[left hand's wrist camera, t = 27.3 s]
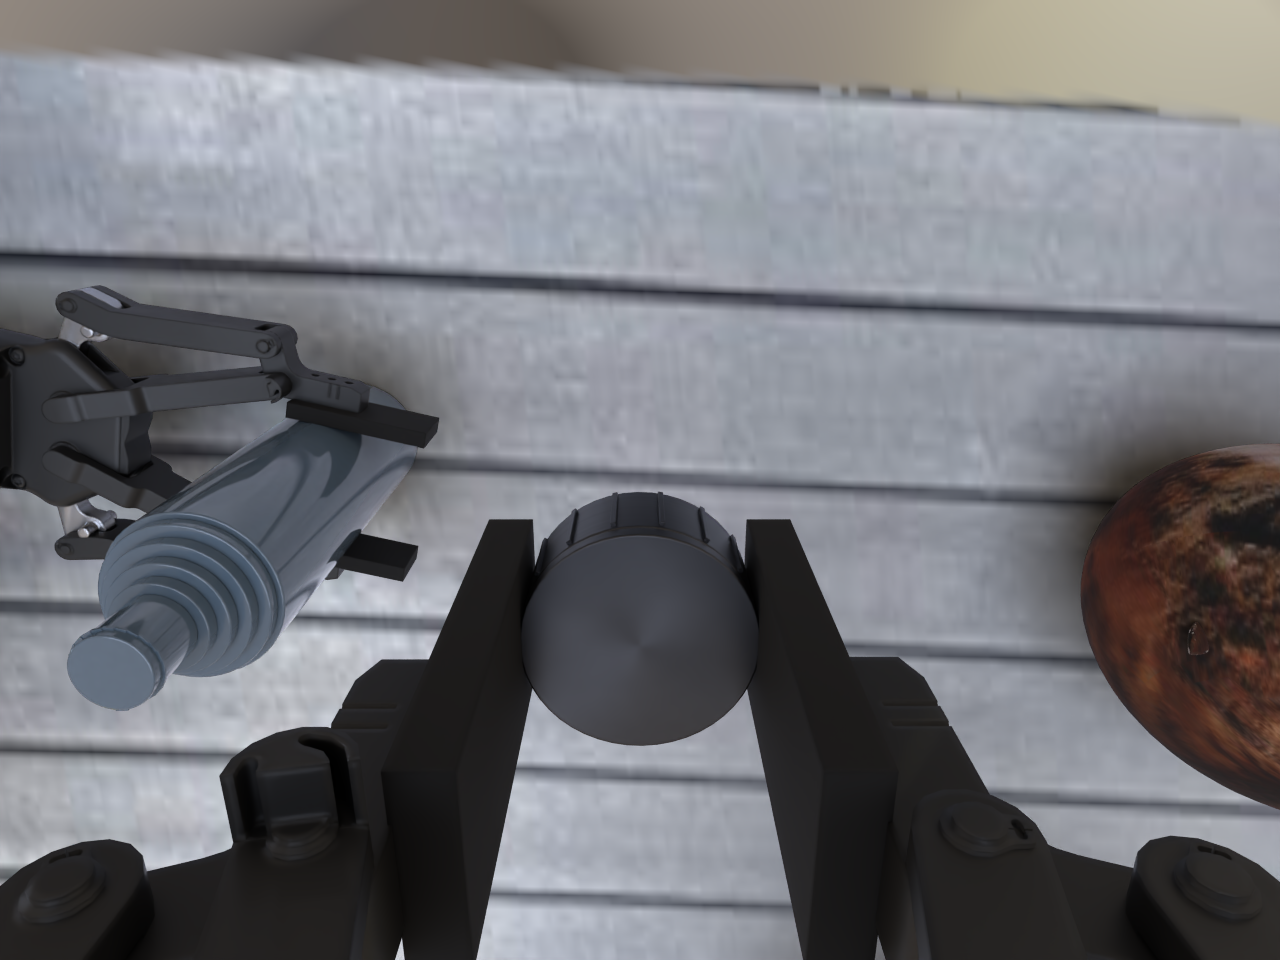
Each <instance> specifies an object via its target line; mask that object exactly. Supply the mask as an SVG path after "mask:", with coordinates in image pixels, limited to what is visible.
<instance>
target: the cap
mask: <svg viewBox="0 0 1280 960" xmlns="http://www.w3.org/2000/svg"><path fill="white" fill-rule="evenodd" d="M758 636H759V618H758V614H757V610H756V606H755V602H754V599H753V595H752V591H751V587H750V584H749V580H748V576H747V572H746V569H745V565H744V562H743V560H742V557H741V554H740V552H739V550H738V547H737V543H736V539H735V537H734V536H733V535H731V536H730V535H729V534H728V532H727V531H726V530H725V529H724V528H723V527H722V526H721V525H720V524H719V523H718V522H717V521H716V520H715V519H714V518H712V517H711V516H710V515H709V514H707V513H706V512H705V509H704V508H703V507H701V506H700V508H698V507H696V506H695V505H693V504H690V503H688V502H686V501H684V500H681V499H678V498H675V497H671V496H668V495H663V492H658V494H657V493H646V492H633V493H622V494H618V493H617V492H616V493H613V495H612V496H608V497H605V498H602V499H599V500H596V501H594V502H592V503H590V504H588V505H585V506H583V507H582V508H580V509H579V510H577V509H574V510H573V511H572V513H571V515H570V516H568V517H567V518H566V519H565V520H564V521H563V522H562V523H560V524H559V526H558V527H557V528H556V529H555V530H554V531H553V532H552V533H551V535H550V536H549V538H548V539H546V538H544V540H543V541H542V545H541V549H540V553H539V556H538V559H537V562H536V565H535V569H534V572H533V576H532V580H531V584H530V587H529V591H528V595H527V599H526V602H525V606H524V610H523V614H522V617H521V647H522V663H523V668H524V671H525V674H526V676H527V678H528V680H529V683H530V685H531V687H532V688H533V690H534V691H535V693H536V694H537V696H538V697H539V699H540V700H541V701H542V702H543V703H544V705H545V706H546V707H547V708H548V709H549V710H550V711H551V712H552V713H553V714H555V715H556V716H557V717H558V718H559V719H560V720H562V721H563V722H565V723H566V724H568V725H569V726H571V727H572V728H574V729H576V730H578V731H580V732H582V733H584V734H586V735H589V736H591V737H594V738H596V739H599V740H603V741H607V742H611V743H616V744H623V745H637V746H645V745H658V744H663V743H669V742H673V741H677V740H680V739H683V738H687V737H689V736H691V735H694V734H696V733H698V732H700V731H702V730H704V729H706V728H707V727H709V726H711V725H713V724H714V723H715V722H717V721H718V720H719V719H721V718H722V717H723V716H724V715H725V714H727V713H728V712H729V711H730V710H731V709H732V708H733V707H734V706H735V705H736V703H737V702H738V701H739V700H740V698H741V697H742V696H743V694H744V693H745V691H746V689H747V688H748V686H749V684H750V683H751V680H752V678H753V676H754V673H755V671H756V668H757V654H758Z"/></svg>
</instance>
